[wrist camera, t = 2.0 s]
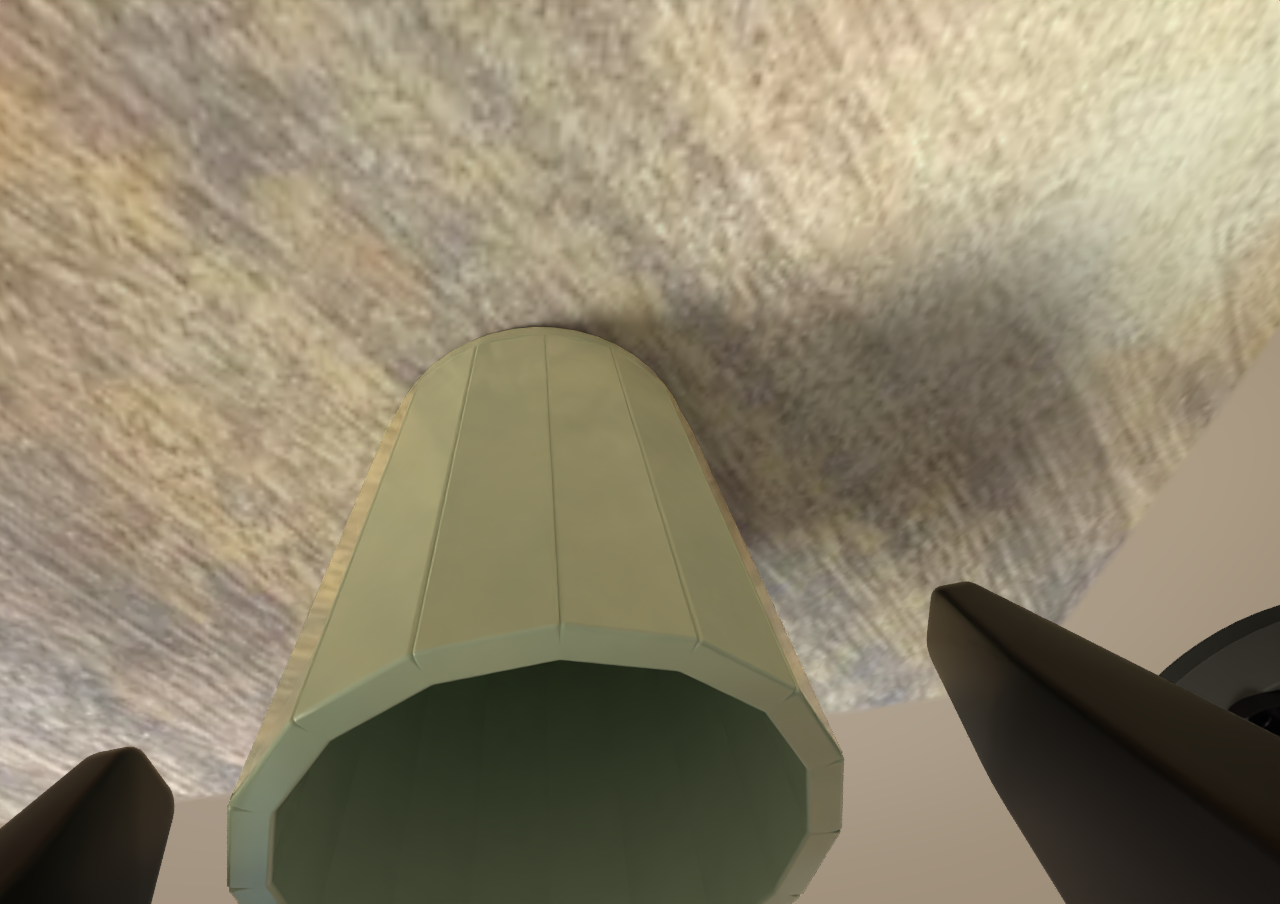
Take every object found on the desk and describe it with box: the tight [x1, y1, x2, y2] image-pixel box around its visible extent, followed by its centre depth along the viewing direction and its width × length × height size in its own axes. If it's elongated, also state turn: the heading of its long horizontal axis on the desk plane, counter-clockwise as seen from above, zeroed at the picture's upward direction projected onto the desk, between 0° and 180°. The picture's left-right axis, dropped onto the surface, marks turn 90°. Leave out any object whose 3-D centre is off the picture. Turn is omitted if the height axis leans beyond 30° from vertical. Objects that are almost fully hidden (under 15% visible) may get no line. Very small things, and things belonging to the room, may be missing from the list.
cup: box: [227, 327, 844, 904], centre depth 9 cm, size 5×5×7 cm
